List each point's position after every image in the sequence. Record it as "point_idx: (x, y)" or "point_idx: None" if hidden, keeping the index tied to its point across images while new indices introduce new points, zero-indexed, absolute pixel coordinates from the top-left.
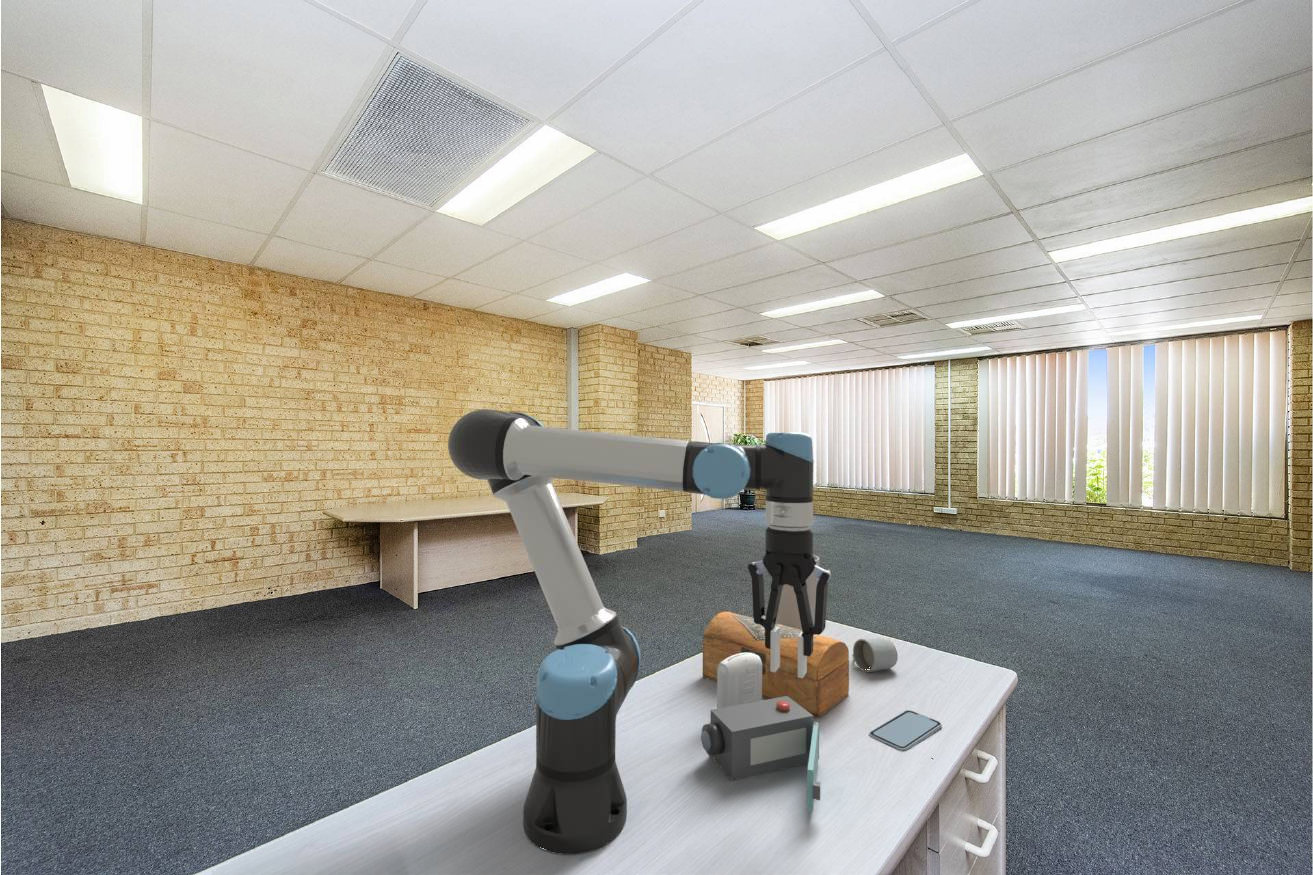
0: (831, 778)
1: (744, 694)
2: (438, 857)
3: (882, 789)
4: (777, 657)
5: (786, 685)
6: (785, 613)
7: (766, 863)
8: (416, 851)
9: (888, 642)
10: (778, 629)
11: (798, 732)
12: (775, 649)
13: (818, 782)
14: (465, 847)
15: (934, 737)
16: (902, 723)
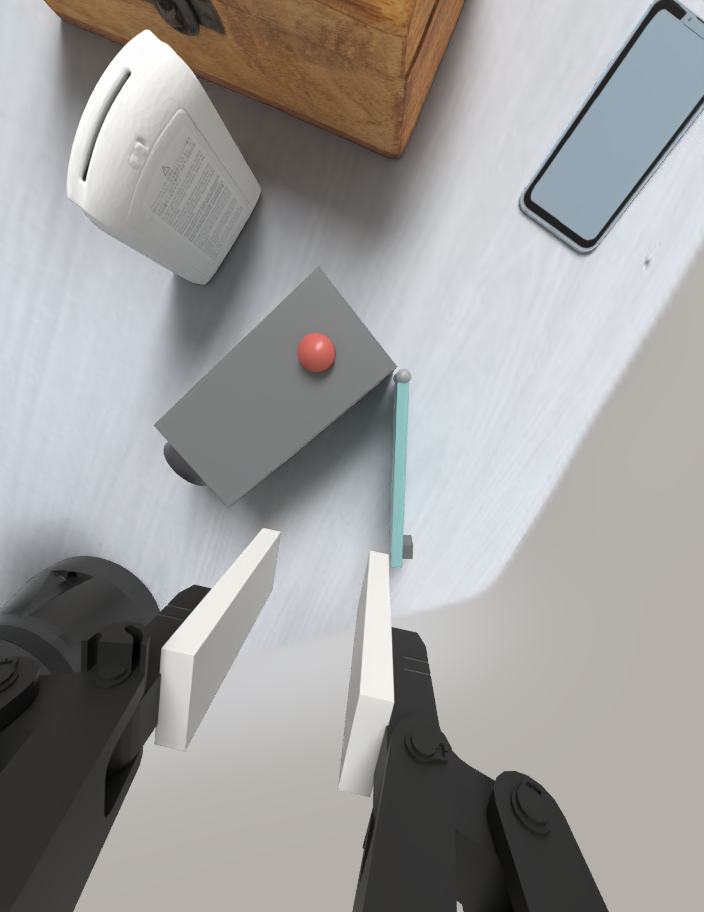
0: (426, 416)
1: (203, 221)
2: None
3: (516, 420)
4: (260, 589)
5: (303, 78)
6: None
7: (344, 627)
8: None
9: None
10: (194, 683)
11: (363, 395)
12: (237, 648)
13: (409, 547)
14: None
15: (686, 146)
16: (620, 104)
